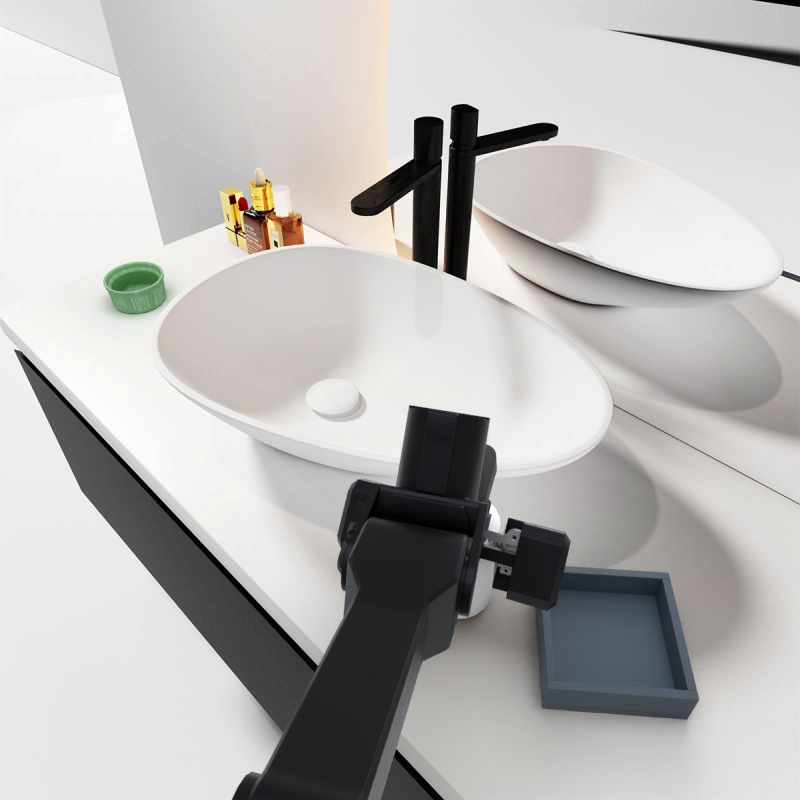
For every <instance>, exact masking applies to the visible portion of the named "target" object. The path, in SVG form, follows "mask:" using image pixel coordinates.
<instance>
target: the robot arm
mask: <svg viewBox="0 0 800 800" xmlns="http://www.w3.org/2000/svg"><path fill="white" fill-rule="evenodd" d="M405 421H406V422H405V427H404V434H403V440H402V446H401V452H400V458H399V463H398V469H397V475H396V482H395V485H390V484H386V483H383V482H379V481H375V480H371V479H367V478H358V479H356V480H355V481H354V482H352V483H351V484H350V486H349V487H348V489H347V493H346V498H345V501H344V506H343V509H342V514H341V518H340V522H339V525H338V530H337V534H336V539H337V543H338V545H339V548H340V551H339V553H338V557H337V560H336V561H337V562H336V563H337V564H336V568H337V570H338V572H339V574H340V587H341V590H342V591H343V592H344V604H343V614H342V615H343V616H342V619H341V621H340V623H339V625H338V627H337V629H336V630H335V633H334V634H333V636H332V638H331V640H330V642H329V644H328V646H327V648H326V650H325V652H324V653H323V656H322V657H321V660H320V661H319V663H318V665H317V667H316V669H315V671H314V672H313V675H312V677H311V679H310V680H309V683H308V684H307V686H306V688H305V690H304V692H303V694H302V696H301V698H300V699H299V701H298V704H297V706H296V708H295V710H294V712H293V714H292V715H291V717H290V719H289V720H288V723H287V725H286V727H285V728H284V731H283V733H282V735H281V737H280V739H279V740H278V742H277V744H276V747H275V749H274V750H273V752H272V754H271V756H270V758H269V759H268V761H267V764H266V766H265V767H264V769H263V770H262V772H261V773H259V772H256V771H250V772H249V773H247V774H245V775H244V776H243V778H242V780H241V781H240V783H239V784H238V786H237V787H236V790H235V791H234V793H233V796H232V798H231V800H382V798H383V795H384V790H385V788H386V784H387V781H388V777H389V773H390V770H391V767H392V763H393V761H394V758H395V754H396V750H397V747H398V743H399V740H400V737H401V733H402V731H403V727H404V723H405V720H406V717H407V714H408V710H409V707H410V703H411V700H412V697H413V694H414V690H415V687H416V683H417V681H418V676H419V673H420V670H421V668H422V665H423V662H425V661H427V660H429V659H431V658H433V657H436V656H437V655H439V654H441V653H444V652H446V651H448V650H449V648H450V646H451V643H452V641H453V636H454V632H455V629H456V625H457V621H458V619H457V618H458V614H459V615H461V616H466V617H469V614H470V609H471V604H472V599H473V593H474V588H475V582H476V576H477V571H478V565H479V561H480V559H484V560H488V561H491V562H495V564H494V574H493V583H492V589H495V590H499V591H502V592H506V595H505V600H509V601H512V602H515V603H519V604H522V605H525V606H528V607H533V608H535V607H536V608H539V609H542V610H546V611H548V610H550V609H551V608H553V607H554V606H556V604H557V600H558V595H559V591H560V587H561V582H562V578H563V574H564V569H565V566H567V565H566V564H567V560H568V557H569V551H570V547H571V539H570V537H569V536H568V534H567V532H566V531H563V530H559V529H556V528H553V527H547V526H543V525H540V524H536V523H532V522H526V521H523V520H519V519H516V518H511V517H508V518H507V520H506V524H505V528H504V530H503V532H500V533H498V532H494V531H491V530H488V529H489V524H490V520H491V516H492V514H489V511H490V507H491V504H492V501H491V499H490V496H491V493H492V489H493V485H494V482H495V479H496V475H497V471H498V463H497V453H496V449H494V447H493V446H491V445H489V444H488V442H487V441H488V435H489V431H490V429H489V428H490V423H491V417H488V416H482V415H476V414H468V413H462V412H455V411H450V410H444V409H438V408H431V407H424V406H418V405H412V404H408V410H407V415H406V420H405ZM487 539H488V543H490V542H491V541H493V545H495V543H496V542H497V543H498V547H493V546H490V545H486V544H484V542H486V540H487ZM469 618H470V617H469Z"/></svg>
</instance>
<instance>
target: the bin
mask: <svg viewBox="0 0 800 800" xmlns="http://www.w3.org/2000/svg"><path fill="white" fill-rule="evenodd" d="M534 611H535V625H536V627H535V628H536V638H537V639H536V640H537V652H538V666H539V667H538V669H539V680H540V694H541V695H540V696H541V697H540V698H541V708H542V709H546V710H556V711H557V710H558V711H571V712H583V713H584V712H587V713H597V714H610V715H611V714H612V715H624V716H639V717H650V718H662V719H664V718H665V719H677V720H688V719H689V718H690V716H691V715H692V713H693V711H694V709H695V708H696V706H697V705H698V703H699V702H700V696H699V693H698V688H697V685H696V679H695V677H694V676H695V675H694V671H693V667H692V664H691V660H690V655H689V651H688V647H687V643H686V639H685V634H684V630H683V626H682V622H681V618H680V614H679V610H678V605H677V600H676V597H675V593H674V589H673V585H672V580H671V576H670V573H669V572H665V571H649V570H635V569H634V570H633V569H619V568H618V569H617V568H605V567H600V568H599V567H587V566H586V567H585V566H570V565H565V569H564V574H563V578H562V582H561V587H560V591H559V595H558V600H557V604H556V606H554V607H553V608H551V609H550V610H548V611H546V610H542V609H539V608H536V607H534Z"/></svg>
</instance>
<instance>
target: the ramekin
mask: <svg viewBox="0 0 800 800" xmlns="http://www.w3.org/2000/svg"><path fill="white" fill-rule="evenodd" d="M164 278H165V273H164V270H163V268H162V267H161V266H160V265H159V264H157V263H154V262H152V261H151V262H150V261H132V262H127V263H123V264H120V265H118V266H116V267H114V268H112V269H111V270H110V271H108V272H107V273H106V274H105V276H104V277H103V281H102V283H103V286H104V288H105V290H106V291H107V293H108V295H109V297H110V300H111V302H112V305H113V306H114V308H115V309H116V310H117V311H119V312H121V313H125V314H142V313H146V312H150V311H153V310H155V309H157V308H158V307H159V306H160V305H161V304H163V303H164V301H165V299H166V297H167V293H166V286H165V285H166V284H165V281H164V280H165V279H164Z"/></svg>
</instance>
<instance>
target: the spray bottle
mask: <svg viewBox="0 0 800 800" xmlns="http://www.w3.org/2000/svg"><path fill="white" fill-rule="evenodd" d="M489 514H492V516H491V520H490V524H489V529H488V530H491V531H494V532H498V533H501V530H502V523H501V517H500V514H499V512H498V510H497V509H496V507H495V505H493V504H492V503H491V507H490V511H489ZM484 544H486V545H490V546H493V547H498V543H497V542H496V543H495V545H493V541H491V542H490V543H488V539H487V540H486V542H484ZM494 564H495V562H491V561H488V560H484V559H480V561H479V565H478V571H477V576H476V582H475V588H474V593H473V599H472V604H471V609H470V614H469V617H466V616H461V615H459V614H458V618H457V620H462V619H463V620H465V619H466V620H467V619H469V618H472V617H475V616H477V615H478V614H480V613H481V612H482V611H484V609H486V607H487V606H488V604H489V603H490V601H491V596H492V591H493V588H492V583H493V574H494Z"/></svg>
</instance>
